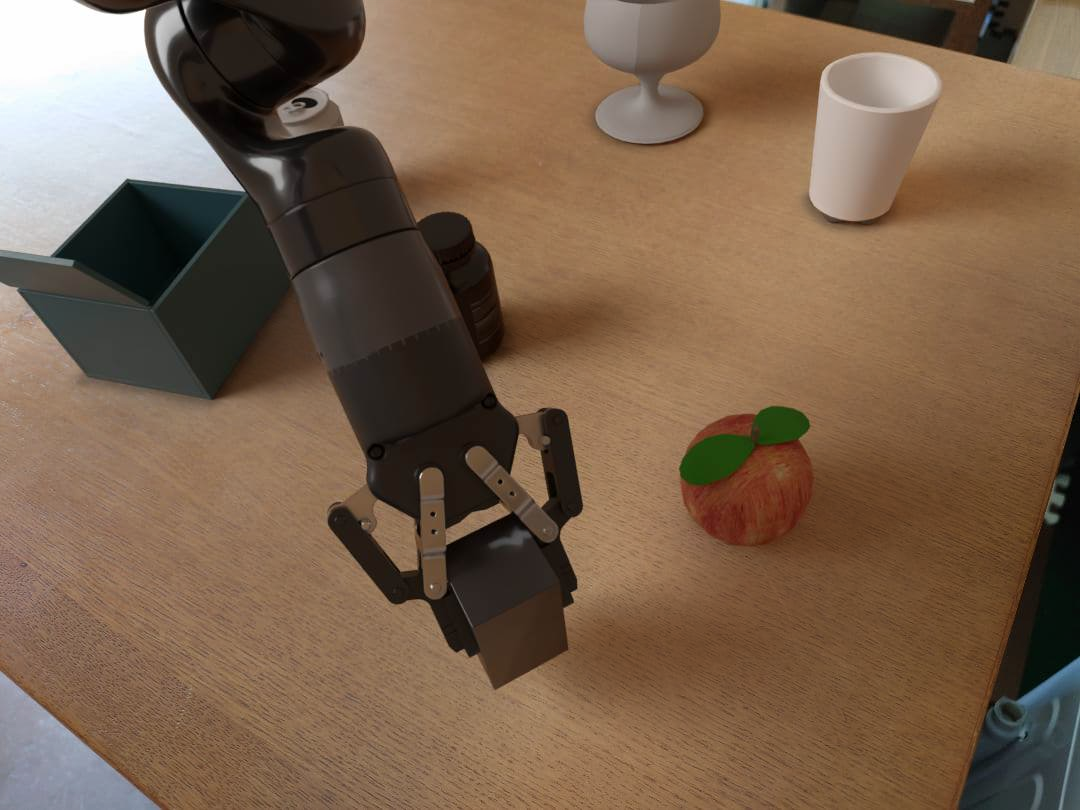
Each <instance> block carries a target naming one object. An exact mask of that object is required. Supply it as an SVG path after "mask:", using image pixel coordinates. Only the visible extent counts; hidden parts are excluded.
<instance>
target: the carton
mask: <svg viewBox="0 0 1080 810" xmlns="http://www.w3.org/2000/svg"><path fill="white" fill-rule="evenodd" d="M49 257H56V258H63V259H70V260H76V261H77V262H79V263H81V264H83V265H85V266H86V267H88V268H90V269H92V270H94V271H95V272H97V273H99V274H101V275H102V276H104V277H106V278H108V279H110V280H111V281H113V282H115V283H117V284H119V285H120V286H122V287H124V288H126V289H128V290H129V291H131V292H133V293H135V294H137V295H138V296H140V297H142V298H144V299H145V300H147V301H149V305H148V308H146V307H140V306H133V305H127V304H120V303H114V302H107V301H101V300H94V299H88V298H81V297H75V296H68V295H62V294H55V293H49V292H42V291H36V290H29V289H23V288H16V292H17V293H18V294H19V296H20V297H21V298H22V300H24V301H25V303H26V304H27V306H29V307H30V309H31V310H32V311H33V312H34V314H35V315H36V316H37V317H38V318H39V320H40V321H41V322H42V324H43V325H44V326H45V327H46V329H47V330H48V331H49V332H50V333H51V334H52V336H53V337H54V339H56V341H57V342H58V343H59V344H60V346H61V347H62V348H63V349H64V350H65V352H66V353H67V354H68V355H69V356H70V358H71V359H72V360H73V362H74V363H75V364H76V365H77V366H78V368H79V369H80V370H81V371H82V372H83V373H84V375H85V376H86V377H87V378H92V379H96V380H102V381H107V382H114V383H118V384H119V383H120V384H124V385H130V386H134V387H141V388H145V389H151V390H155V391H161V392H167V393H173V394H179V395H184V396H188V397H189V396H190V397H195V398H201V399H206V400H213V398H214V397H215V396H216V394H217V393H218V392H219V390H220V388H221V387H222V386H223V384H224V382H225V381H226V380H227V378H228V377H229V375H230V374H231V372H232V371H233V369H234V368H235V366H236V365H237V363H239V361H240V359H241V358H242V357H243V355H244V353H245V352H246V351H247V349H248V348H249V347H250V345H251V343H252V341H253V340H254V339H255V337H256V336H257V334H258V333H259V332H260V330H261V329H262V327H263V325H264V324H265V323H266V321H267V320H268V318H269V317H270V316H271V314H272V312H273V311H274V310H275V308H276V307H277V306H278V304H279V303H280V301H281V299H282V298H283V297H284V295H285V293H286V292H287V291H288V289H289V288H290V287H291V285H292V280H290V278H289V275H288V273H287V271H286V269H285V267H284V264H283V262H282V260H281V258H280V256H279V253H278V251H277V249H276V247H275V245H274V242H273V240H272V238H271V236H270V234H269V231H268V230H267V228H266V226H265V223H264V221H263V219H262V216H261V214H260V212H259V210H258V209H257V207H256V205H255V204H254V203H253V201H252V200H251V198H250V197H249V196H248V194H247V193H246V192H245V190H244V191H243V190H234V189H225V188H215V187H207V186H198V185H197V186H196V185H188V184H180V183H179V184H178V183H169V182H160V181H150V180H140V179H133V178H131V179H130V178H126V179H125V180H124V181H123V182H122V183H121V184H120V185H119V186H118V187H117V188H116V189H114V191H113V192H112V193H111V194H110V195H109V196H108V197H107V198H106V199H105V200H104V201H103V202H102V203H101V204H100V205H99V206H98V207H97V208H95V210H94V211H93V212H92V213H91V214H90V215H89V216H88V217H87V218H86V219H85V220H84V221H83V222H82V223H81V224H80V225H79V227H77V228H76V229H75V230H74V231H73V232H72V234H71V235H69V236H68V237H67V238H66V240H65V241H64V242H63V243H61V244H60V246H58V248H57V249H55V250H54V252H53V253H52V254H50V255H49Z"/></svg>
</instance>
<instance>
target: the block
mask: <svg viewBox="0 0 1080 810" xmlns="http://www.w3.org/2000/svg"><path fill="white" fill-rule="evenodd" d="M446 548H447V549H446V573H447V583H448V584H449V586H450V587H451V589H452V590H453V592H454V594H455V596H456V598H457V600H458V603H459V605H460V607H461V609H462V612H463V614H464V616H465V618H466V620H467V623H468V625H469V627H470V629H471V632H472V634H473V636H474V638H475V640H476V643H477V645H478V647H479V649H480V651H481V652H480V653H478V654H477V658H478V660H479V662H480V664H481V666H482V668H483V670H484V672H485V675H486V676H487V678H488V680H489V682H490V684H491V687H492V688H493V690H494V691H497V690H498V689H500V688H502V687H504V686H506V685H508V684H510V683H511V682H513V681H515V680H516V679H518V678H520V677H522V676H524V675H525V674H527V673H529V672H531V671H533V670H535V669H537V668H538V667H540V666H542V665H544V664H546V663H548V662H549V661H551V660H553V659H555V658H557V657H559V656H560V655H562V654H564V653H566V652H567V651H569V650H570V648H569V641H568V640H569V639H568V632H567V627H566V626H567V625H566V618H565V608H563V601H562V594H561V586H560V581H559V579H558V578H557V576H556V574H555V573H554V571H553V569H552V568H551V566H550V564H549V563H548V561H547V559H546V558H545V556H544V554H543V553H542V551H541V549H540V548H539V546H538V544H537V543H536V541H535V539H534V538H533V536H532V534H531V533H530V531H529V529H528V528H527V526H526V525H525V524H524V523H523V522H522V521H521V520H520V519H519V518H518V517H517V516H515V515H514V514H513V513H510V512H509V513H508V514H506V515H504V516H502V517H500V518H498V519H496V520H494V521H492V522H490V523H487V524H485V525H484V526H482V527H480V528H477V529H475V530H473V531H471V532H469V533H467V534H466V535H464V536H461V537H460V538H458V539H456V540H453V541H451V542H449V543H446Z"/></svg>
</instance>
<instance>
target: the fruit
mask: <svg viewBox="0 0 1080 810" xmlns="http://www.w3.org/2000/svg"><path fill="white" fill-rule="evenodd" d="M811 427H812V426H811V423H810V419H809V418H808V417H807V416H806V415H805V413H804V412H802V411H800V410H798V409H795V408H794V407H788V406H782V405H770V406H768V407H765V408H763V409H760V410H759V412H758V413H757V414H756V413H738V414H730V415H729V414H728V415H726V416H723V417H721V418H719V419H716V420H715V421H713V422H711V423H709V424H707V425H706V426H705V427H704V428H703V429H701V430H699V432H698V433H697V434H696V435H695V436H694V438H693V439H692V441H691V442H690V443H689V444H688V446H687V448H686V450H685V453H684V456H683V457H682V459H681V461H680V465H679V468H678V470H679V485H680V491H681V495H682V500H683V501H682V502H683V504H684V507H685V508H686V510H687V512H688V514H689V516H690V518H691V520H693V521H694V522H695V523H696V524H697V525H698V526H699V527H700V528H701V530H703V531H704V532H705V533H706V534H707V535H709V536H710V537H711V538H713V539H716V540H718V541H721V542H723V543H726V544H728V545H729V546H736V547H751V548H753V547H760V546H767V545H768V544H770V543H772V542H774V541H776V540H779V539H781V538H783V537H785V536H786V535H788V534H789V533H790V532H792V531H793V530H794V528H796V526H797V525H798V524H799V523H800V522H801V520H802V518H803V517H804V516H805V514H806V511H807V509H808V506H809V504H810V502H811V499H812V497H813V494H814V492H813V491H814V481H815V477H814V476H815V475H814V470H813V465H812V459H811V458H810V456H809V454H808V452H807V451H806V449H805V447H804V446H803V444H802V442H801V440H800V439H801V438H802V437H803V436H805V434H806V433H808V431H809V430H810V428H811Z"/></svg>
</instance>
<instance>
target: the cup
mask: <svg viewBox="0 0 1080 810" xmlns="http://www.w3.org/2000/svg"><path fill="white" fill-rule="evenodd" d="M943 91H944V81H943V79H942V76H940V74H939V73H938V72H937V71H936V70H935V69H934V68H933V67H932V66H931V65H929V64H927V63H925V62H923V61H921V60H919V59H916V58H913V57H910V56H908V55H904V54H897V53H894V52H893V53H892V52H884V51H883V52H881V51H872V52H871V51H870V52H860V53H856V54H850V55H847V56H845V57H842V58H839V59H837V60H834V61H833V62H831V63H829V64H827V65H826V66H825V68H824V70H823V71H822V72H821V77H820V82H819V90H818V100H817V111H816V121H815V131H814V140H813V150H812V151H813V152H812V159H811V160H812V161H811V172H810V181H809V191H808V196H809V197H808V198H809V202H810V204H812V205H813V206H814V207H815V208H816V209H817V210H818V211H819V212H820V213H821V214H822V216H823V217H824V218H825V219H826V220H827V222H830V223H832V224H834V223H836V224H837V223H840V222H858V223H860V224H861V225H867V226H869V225H871V224H873V223H874V222H875V221H876V220H878V219H880V217H882V216H883V215H884V214H886V213H887V212H888V211H890V208H891V206H892V205H893V203H894V200H895V198H896V196H897V194H898V191H899V189H900V187H901V185H902V182H903V180H904V178H905V176H906V173H907V172H908V169H909V168H910V165H911V163H912V160H913V158H914V156H915V153H916V151H917V149H918V147H919V145H920V143H921V140H922V138H923V136H924V134H925V131H926V129H927V127H928V124H929V122H930V120H931V118H932V115H933V114H934V111H935V109H936V107H937V104H938V102H939V100H940V98H941V97H942V93H943Z"/></svg>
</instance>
